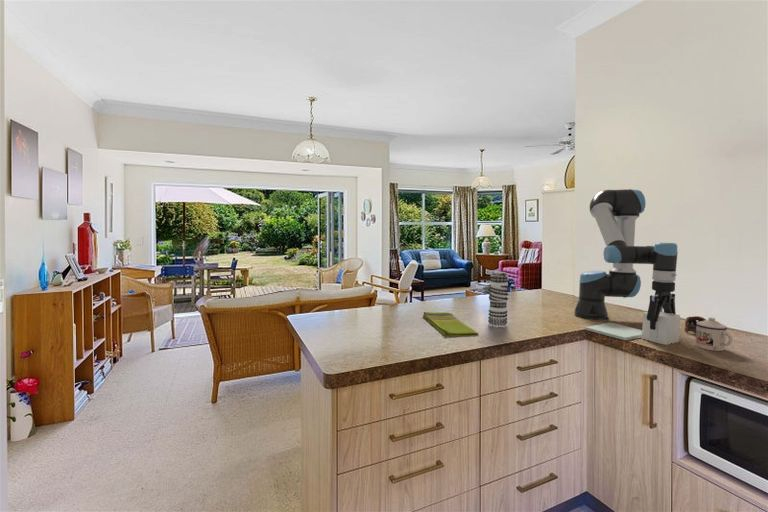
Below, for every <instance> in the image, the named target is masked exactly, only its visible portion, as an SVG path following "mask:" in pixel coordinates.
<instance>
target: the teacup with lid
mask: <svg viewBox="0 0 768 512" xmlns="http://www.w3.org/2000/svg"><path fill="white" fill-rule="evenodd" d="M696 322H697V324H696V325H697V329H696V331H695V346H696V347H697V348H699V349H703V350H706V351H713V352H724V351H725V349H726V347H728V346H730V345H731V344H732V343H733V340H734V339H733V336H732V334H730V333H728V332H727V330H728V326H727V325H726V324H723V323H721V322H719V321H718V320H716V318H715V317H708V319H706V320H704V321H700V322H698V321H696ZM726 336H727V337H726ZM727 338H728V341H727V342H726V339H727Z"/></svg>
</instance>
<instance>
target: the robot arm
mask: <svg viewBox="0 0 768 512" xmlns="http://www.w3.org/2000/svg"><path fill="white" fill-rule="evenodd" d="M645 208H646V198H645V194H644V193H643V192H642V191H641V190H640V189H632V188H631V189H629V188H628V189H603V190H601V191H599V192H598V193H597V194H595V195H594V196H593V197H592V199H591V200H590V203H589V213H590V214H591V216H592V218H594V219H595V221H596V224H597V226H598V228H599V232H600V234H601V236H602V239H603V241H604V244H605V245H606V246H605V247H604V248H603V252H602V253H603V255H602V256H603V259H604V261H605V262H606V263H608V264H612V267H611V268H610V269H608V273H607V271H605V270H588V271H584V272H582V273H581V274H580V275H579V276H580V277H579V290H578V291H579V293H578V301H577V304H576V306H575V309H574V315H575V316H576V317H578V318H583V319H591V320H605V319H608V317H609V316H608V315H609V313H608V309H607V306H606V303H605V300H606V299H605V297H606V298H609V297H610V298H611V297H612V298H624V299H626V298H634V297H636V296H637V295H638V294H639V292H640V290H641V285H642V280H641V277H640V275H639V274H637V271H636V270H635V269H634V264H636V265H637V264H639V265H653V267H652V276H651V277H652V278H651V279H652V280H653V281H651V290H653V291H655V292H654V295H652V294H651V295H650V296H649V304H648V309H647V312H648V313H647V320H649V321H650V331H649V337H653V338H657V337H658V322H657V320H658V316H659V314H660V311H661V308H662V307H663V309H662V310H663V312H665V313H670V314H676V313H677V312H676V301H675V299H676V293H673V292H676V291H675V290H676V283H675V281H676V277H677V261H678V252H679V251H678V244H677V243H674V242H655V244H654V245H645V246H643V245H642V246H641V245H640V246H638V245H637V246H635V236H636V235H635V233H636V220H637V219H639V218H640V214H643V213H644V211H645Z"/></svg>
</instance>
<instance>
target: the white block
mask: <svg viewBox="0 0 768 512" xmlns="http://www.w3.org/2000/svg"><path fill="white" fill-rule="evenodd" d="M647 313H648V311H646V312H643V314H642V329H641V330H642V337H641V339H642V340H644V339H645V341H648V340H649V342H653V343H656V344H660V345H665V346H667V345H672V344H676V343H679V341H680V340H679V338H680V336H679V335H680V323H681V314H673V313H672V314H670V313H665V312H664V311H663V312H660V314H659V316H658V320H657V322H658V337H657V338H653V337H649V331H650V321H649V320H647ZM675 342H676V343H675ZM671 343H672V344H671Z"/></svg>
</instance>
